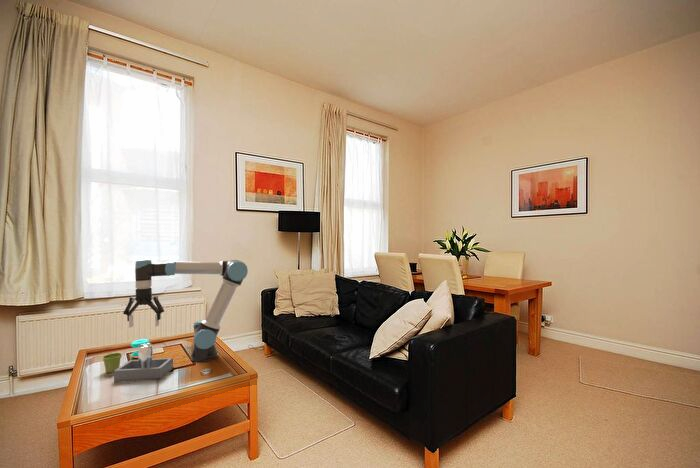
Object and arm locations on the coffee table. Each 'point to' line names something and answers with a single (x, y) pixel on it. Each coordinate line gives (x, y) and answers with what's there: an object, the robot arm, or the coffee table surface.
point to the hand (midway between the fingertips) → (144, 326)
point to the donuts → (138, 343)
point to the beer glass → (145, 355)
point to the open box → (143, 370)
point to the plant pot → (112, 361)
